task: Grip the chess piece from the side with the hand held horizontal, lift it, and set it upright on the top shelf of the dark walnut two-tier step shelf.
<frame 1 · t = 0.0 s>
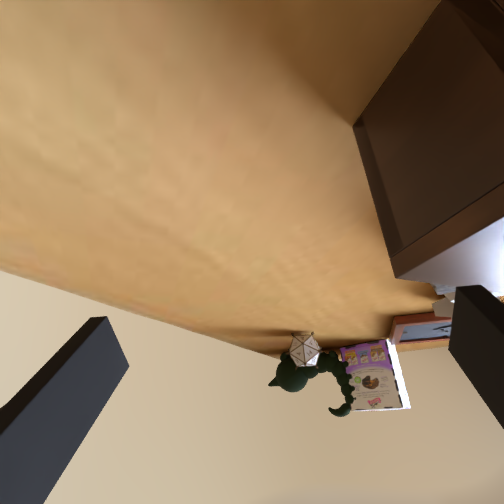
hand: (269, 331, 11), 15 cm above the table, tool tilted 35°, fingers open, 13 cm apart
toy figurine: (306, 350, 90), on the table, touching candy box
game die: (302, 332, 72), on the table
picture frame: (451, 321, 66), on the table
bunny figurine: (462, 286, 48), on the table
candy box: (366, 344, 84), on the table, touching toy figurine
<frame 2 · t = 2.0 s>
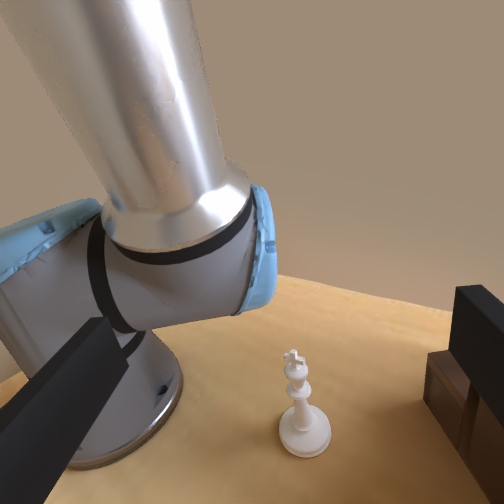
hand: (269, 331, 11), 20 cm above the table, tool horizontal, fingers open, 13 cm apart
chess piece: (305, 432, 28), on the table
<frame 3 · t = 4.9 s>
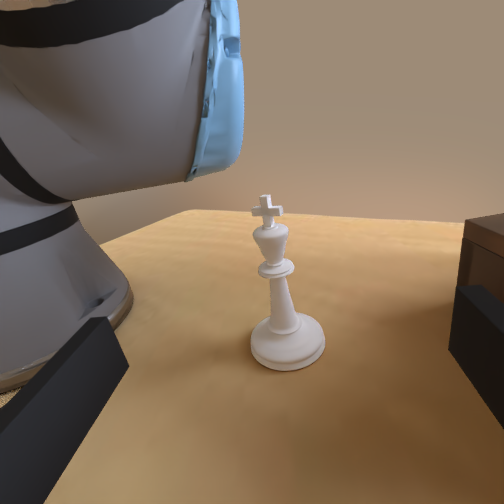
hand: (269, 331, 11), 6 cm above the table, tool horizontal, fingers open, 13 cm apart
chess piece: (287, 344, 20), on the table
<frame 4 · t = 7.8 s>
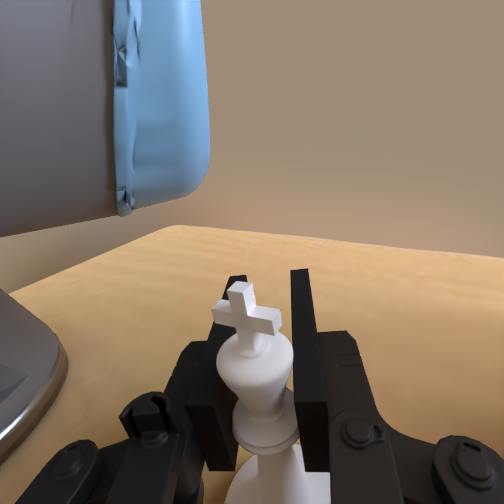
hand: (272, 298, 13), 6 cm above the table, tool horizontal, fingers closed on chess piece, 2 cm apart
when the fingers open (18 cm above the table, at t = 15.6 s): chess piece stays where it is, resting on step shelf.
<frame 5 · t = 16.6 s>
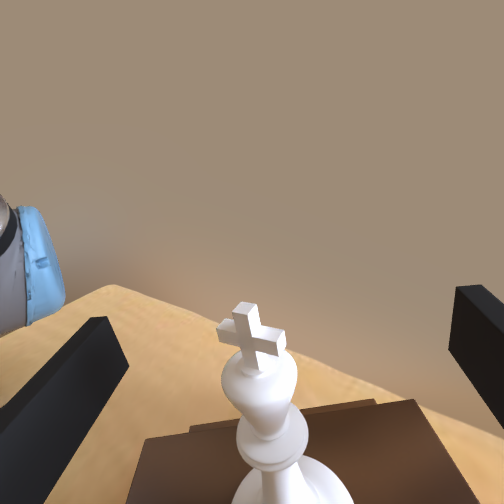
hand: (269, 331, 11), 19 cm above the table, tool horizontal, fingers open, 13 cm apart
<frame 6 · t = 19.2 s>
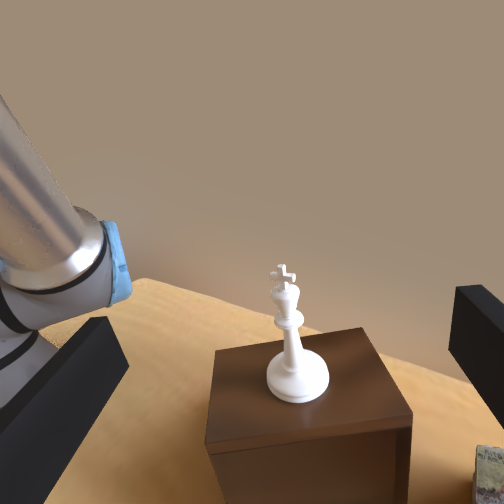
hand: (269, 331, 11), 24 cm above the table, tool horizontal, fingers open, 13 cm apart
chess piece: (297, 378, 24), point 12 cm above the table, touching step shelf
step shelf: (304, 442, 31), on the table
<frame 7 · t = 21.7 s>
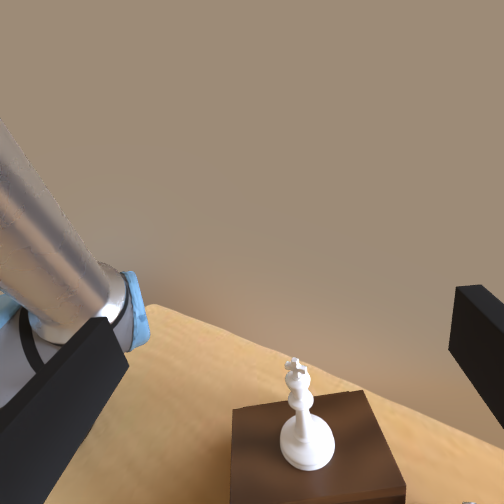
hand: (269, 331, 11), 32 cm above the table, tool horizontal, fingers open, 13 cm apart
chess piece: (307, 443, 27), point 12 cm above the table, touching step shelf
step shelf: (311, 486, 34), on the table
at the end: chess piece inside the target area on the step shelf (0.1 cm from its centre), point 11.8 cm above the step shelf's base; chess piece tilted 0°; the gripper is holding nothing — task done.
